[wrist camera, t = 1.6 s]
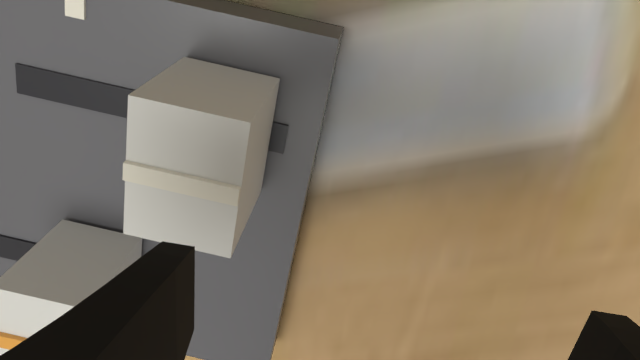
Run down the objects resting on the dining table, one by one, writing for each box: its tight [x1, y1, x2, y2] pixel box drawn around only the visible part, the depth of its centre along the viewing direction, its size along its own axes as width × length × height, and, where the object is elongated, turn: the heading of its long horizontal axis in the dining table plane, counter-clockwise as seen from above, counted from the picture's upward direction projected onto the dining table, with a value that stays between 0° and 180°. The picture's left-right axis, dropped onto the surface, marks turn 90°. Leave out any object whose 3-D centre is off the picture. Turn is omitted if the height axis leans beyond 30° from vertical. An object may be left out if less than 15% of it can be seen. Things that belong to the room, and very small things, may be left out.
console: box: [0, 0, 343, 360], centre depth 20 cm, size 17×14×2 cm
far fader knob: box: [0, 219, 142, 355], centre depth 18 cm, size 3×4×4 cm
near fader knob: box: [122, 57, 280, 258], centre depth 15 cm, size 3×4×4 cm
